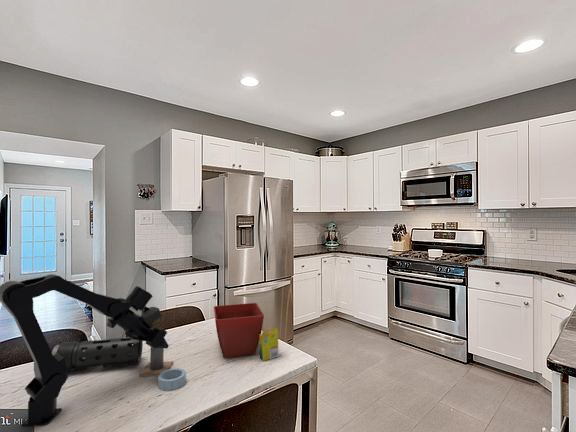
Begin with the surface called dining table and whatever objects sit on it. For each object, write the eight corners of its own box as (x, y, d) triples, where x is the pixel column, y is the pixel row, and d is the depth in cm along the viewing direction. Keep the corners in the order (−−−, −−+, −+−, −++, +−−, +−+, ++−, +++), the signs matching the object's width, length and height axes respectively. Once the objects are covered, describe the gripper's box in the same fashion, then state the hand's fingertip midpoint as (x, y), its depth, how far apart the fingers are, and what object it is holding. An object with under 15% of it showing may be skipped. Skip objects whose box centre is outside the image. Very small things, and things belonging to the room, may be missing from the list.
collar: (181, 389, 98) (181, 380, 98) (154, 391, 97) (154, 381, 97) (188, 376, 106) (188, 367, 106) (163, 377, 106) (163, 368, 106)
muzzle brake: (137, 369, 112) (137, 340, 112) (48, 379, 104) (48, 349, 105) (142, 357, 121) (142, 331, 121) (61, 366, 114) (61, 338, 114)
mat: (165, 375, 107) (165, 373, 107) (139, 376, 106) (139, 374, 106) (173, 363, 116) (173, 361, 116) (148, 364, 115) (148, 362, 115)
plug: (163, 368, 110) (164, 338, 110) (150, 371, 108) (151, 340, 108) (162, 363, 114) (163, 334, 114) (149, 365, 112) (150, 336, 112)
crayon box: (275, 354, 124) (275, 325, 124) (278, 357, 122) (278, 327, 122) (258, 358, 120) (259, 329, 120) (262, 361, 118) (262, 331, 118)
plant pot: (215, 363, 116) (215, 319, 116) (213, 343, 134) (213, 305, 135) (264, 357, 121) (264, 315, 121) (256, 339, 140) (256, 302, 140)
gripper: (161, 306, 103) (189, 329, 112) (133, 297, 114) (160, 319, 122) (138, 336, 96) (169, 359, 105) (111, 324, 107) (141, 345, 116)
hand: (160, 344), depth 112 cm, fingers open, 9 cm apart
